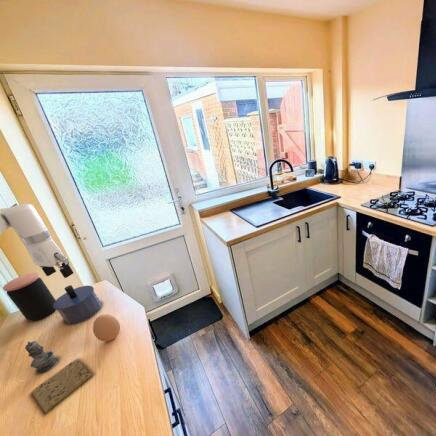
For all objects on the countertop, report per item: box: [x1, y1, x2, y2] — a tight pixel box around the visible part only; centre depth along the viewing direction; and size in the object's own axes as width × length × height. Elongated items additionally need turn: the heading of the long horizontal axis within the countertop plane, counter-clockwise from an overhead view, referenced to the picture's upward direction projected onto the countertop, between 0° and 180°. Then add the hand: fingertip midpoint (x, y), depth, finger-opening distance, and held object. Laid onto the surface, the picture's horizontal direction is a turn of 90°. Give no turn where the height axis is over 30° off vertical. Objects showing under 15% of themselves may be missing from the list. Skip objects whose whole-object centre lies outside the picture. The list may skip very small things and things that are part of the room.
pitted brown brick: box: [31, 359, 92, 414], centre depth 77 cm, size 12×12×1 cm
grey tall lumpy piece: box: [24, 340, 58, 374], centre depth 82 cm, size 6×6×12 cm
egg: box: [92, 313, 121, 342], centre depth 90 cm, size 8×8×11 cm
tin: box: [57, 291, 102, 325], centre depth 105 cm, size 13×13×8 cm
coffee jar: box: [2, 272, 57, 322], centre depth 105 cm, size 11×11×18 cm
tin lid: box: [53, 284, 95, 311], centre depth 102 cm, size 14×14×6 cm
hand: (60, 274), depth 97 cm, fingers open, 9 cm apart
